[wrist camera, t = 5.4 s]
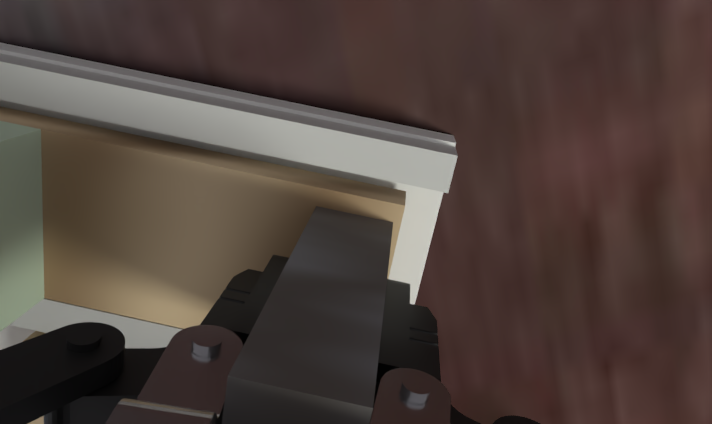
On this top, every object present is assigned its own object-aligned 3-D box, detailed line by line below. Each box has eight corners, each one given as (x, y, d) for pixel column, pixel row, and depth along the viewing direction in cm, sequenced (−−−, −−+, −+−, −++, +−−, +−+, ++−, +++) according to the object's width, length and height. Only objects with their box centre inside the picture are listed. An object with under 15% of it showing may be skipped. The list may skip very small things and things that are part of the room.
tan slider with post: (406, 191, 15) (395, 380, 7) (370, 345, 17) (331, 631, 9) (-154, 74, 15) (-727, 133, 8) (-131, 235, 17) (-578, 415, 9)
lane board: (453, 135, 15) (460, 156, 13) (356, 518, 21) (349, 582, 18) (-374, -35, 16) (-506, -43, 14) (-265, 375, 22) (-348, 419, 19)
